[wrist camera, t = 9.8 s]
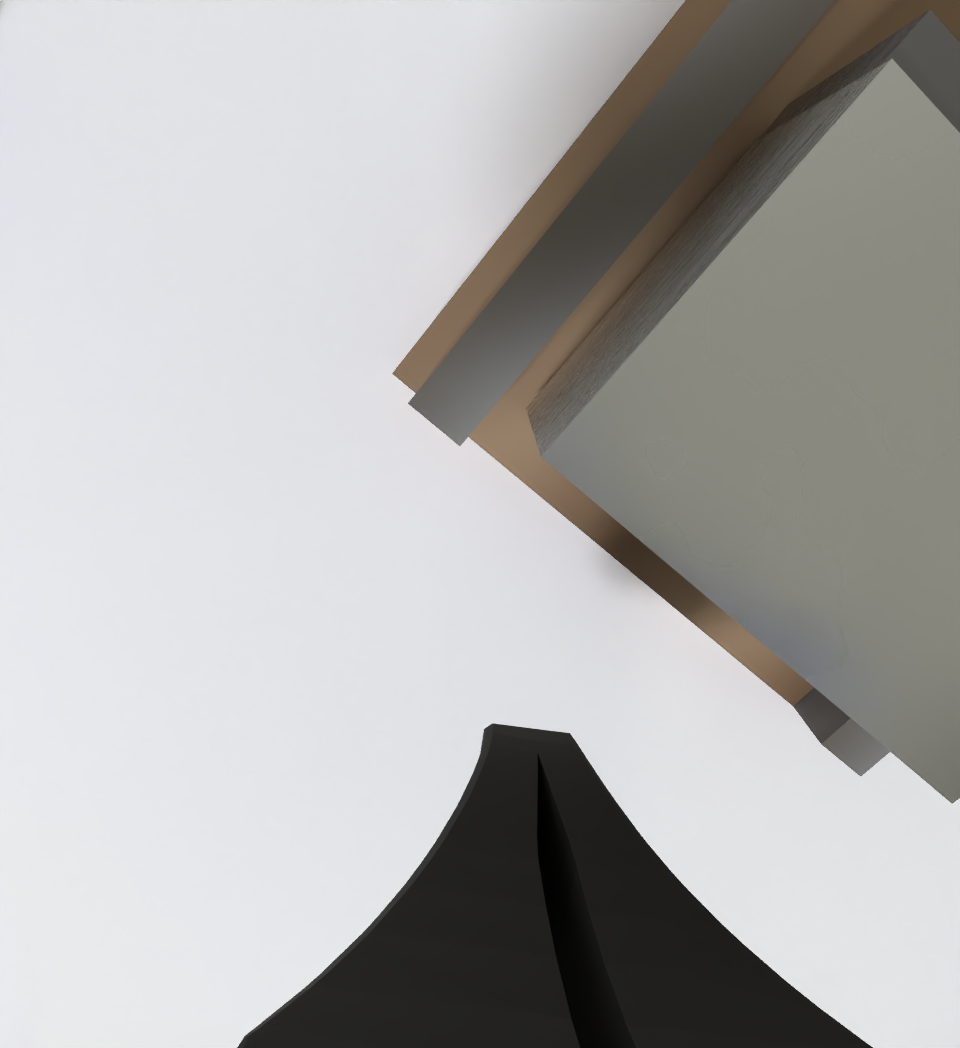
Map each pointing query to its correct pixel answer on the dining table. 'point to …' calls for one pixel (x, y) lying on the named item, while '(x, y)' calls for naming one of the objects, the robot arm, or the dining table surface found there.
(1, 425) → the dining table surface
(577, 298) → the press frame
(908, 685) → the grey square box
